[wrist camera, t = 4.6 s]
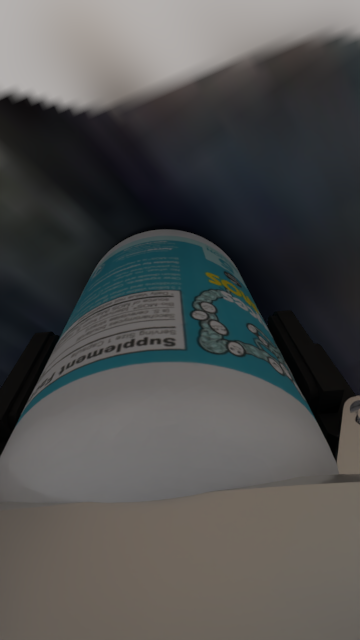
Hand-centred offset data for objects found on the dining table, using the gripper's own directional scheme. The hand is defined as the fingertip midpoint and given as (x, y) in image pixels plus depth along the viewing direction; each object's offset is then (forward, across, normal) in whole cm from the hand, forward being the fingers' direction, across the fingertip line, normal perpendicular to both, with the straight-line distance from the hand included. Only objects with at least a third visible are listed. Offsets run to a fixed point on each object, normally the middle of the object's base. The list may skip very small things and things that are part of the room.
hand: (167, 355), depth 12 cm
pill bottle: (+5, 0, 0) cm, 5 cm away
